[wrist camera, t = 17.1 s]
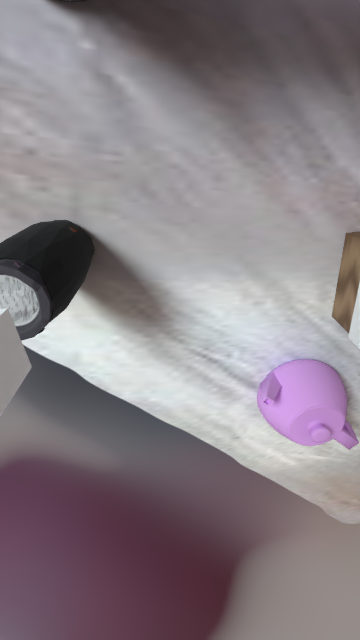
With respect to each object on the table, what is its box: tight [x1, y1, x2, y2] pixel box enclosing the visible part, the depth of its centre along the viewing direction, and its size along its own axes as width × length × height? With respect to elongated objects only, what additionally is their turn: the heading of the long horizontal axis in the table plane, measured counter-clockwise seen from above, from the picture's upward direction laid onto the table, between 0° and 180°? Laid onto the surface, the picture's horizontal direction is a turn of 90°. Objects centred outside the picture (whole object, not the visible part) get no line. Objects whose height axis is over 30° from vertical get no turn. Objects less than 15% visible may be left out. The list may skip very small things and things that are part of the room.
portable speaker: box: [0, 220, 94, 340], centre depth 36 cm, size 9×9×20 cm
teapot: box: [257, 359, 359, 449], centre depth 54 cm, size 22×16×12 cm
